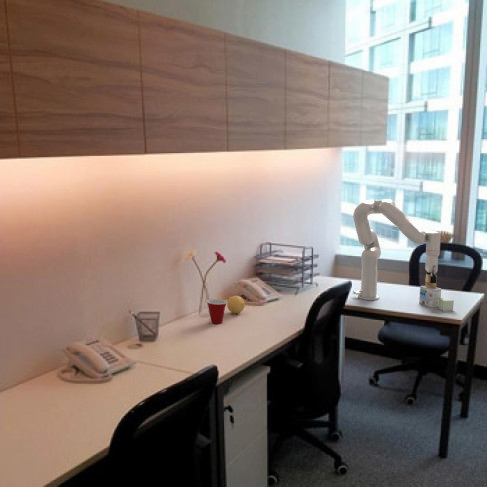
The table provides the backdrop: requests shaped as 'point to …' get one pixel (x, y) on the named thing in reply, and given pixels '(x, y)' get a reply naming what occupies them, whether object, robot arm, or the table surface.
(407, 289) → the table surface
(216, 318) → the plastic cup
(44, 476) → the table surface
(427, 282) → the oak block
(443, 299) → the sage cube
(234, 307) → the stress ball
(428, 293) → the light bulb box
